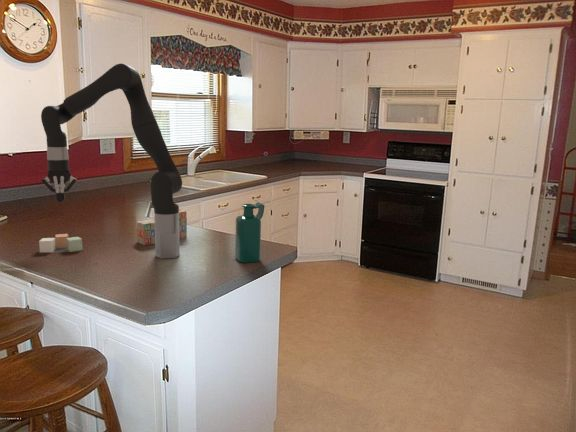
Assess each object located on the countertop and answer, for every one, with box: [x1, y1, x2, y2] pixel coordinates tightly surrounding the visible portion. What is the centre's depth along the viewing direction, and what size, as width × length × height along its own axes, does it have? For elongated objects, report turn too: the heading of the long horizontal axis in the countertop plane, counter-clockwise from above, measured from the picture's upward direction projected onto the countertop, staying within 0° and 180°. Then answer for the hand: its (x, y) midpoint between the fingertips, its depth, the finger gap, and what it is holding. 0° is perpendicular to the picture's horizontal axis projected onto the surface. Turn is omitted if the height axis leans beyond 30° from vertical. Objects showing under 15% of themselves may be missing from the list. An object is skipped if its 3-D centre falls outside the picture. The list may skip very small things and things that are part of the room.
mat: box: [38, 243, 84, 254], centre depth 187 cm, size 11×15×1 cm
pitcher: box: [234, 201, 265, 264], centre depth 182 cm, size 10×8×22 cm
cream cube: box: [38, 237, 56, 252], centre depth 183 cm, size 4×4×4 cm
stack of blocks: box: [136, 209, 188, 246], centre depth 207 cm, size 21×6×12 cm, turn 137°
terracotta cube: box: [54, 233, 70, 248], centre depth 190 cm, size 4×4×4 cm
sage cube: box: [66, 236, 83, 253], centre depth 186 cm, size 4×4×4 cm
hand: (61, 202), depth 188 cm, fingers closed
